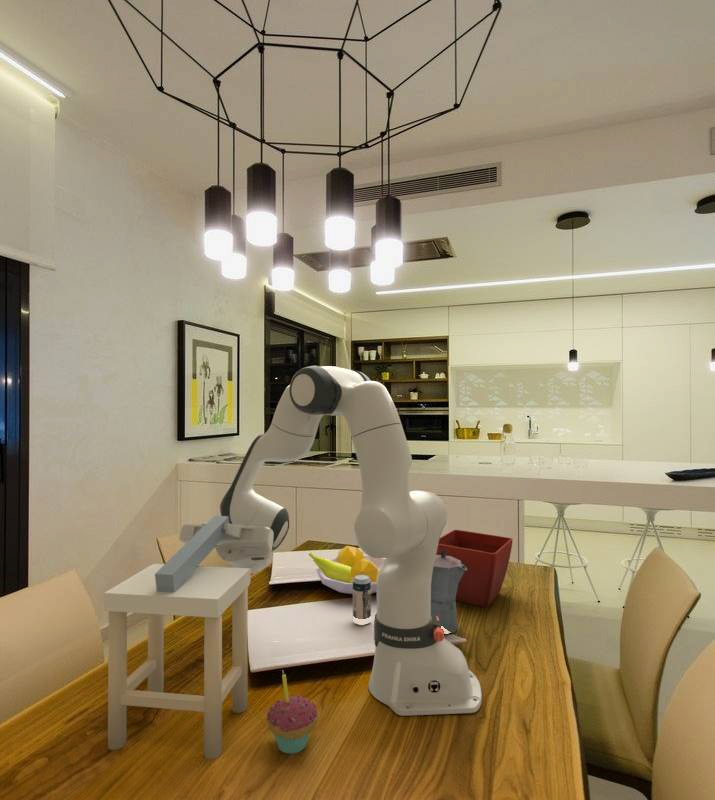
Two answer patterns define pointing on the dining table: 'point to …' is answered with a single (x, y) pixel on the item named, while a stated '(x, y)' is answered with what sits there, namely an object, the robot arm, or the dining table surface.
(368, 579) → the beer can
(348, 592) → the fruit bowl
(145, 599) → the stool
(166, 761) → the dining table surface
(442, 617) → the moka pot
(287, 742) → the cupcake
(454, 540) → the plant pot
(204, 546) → the blue-gray rectangular bar
